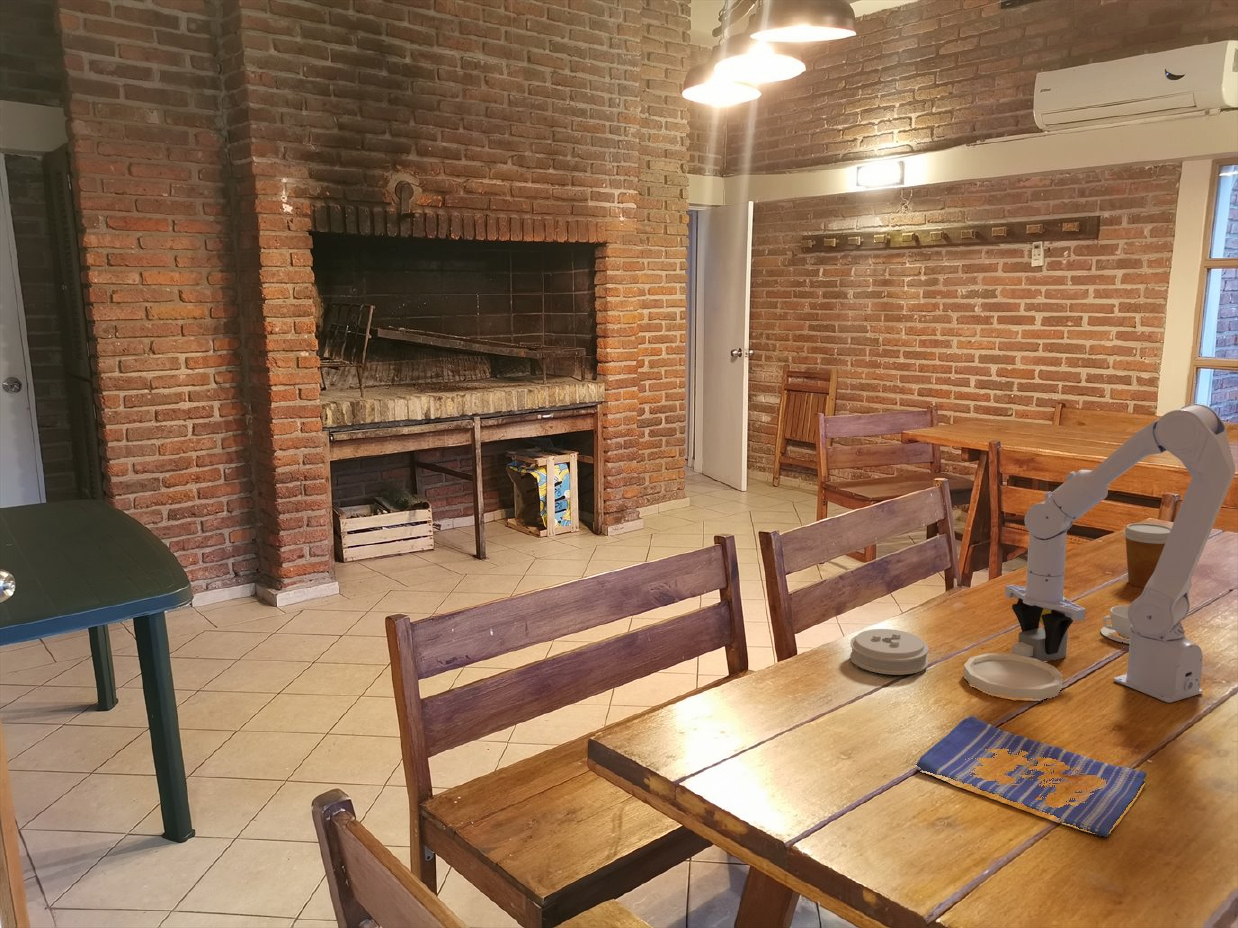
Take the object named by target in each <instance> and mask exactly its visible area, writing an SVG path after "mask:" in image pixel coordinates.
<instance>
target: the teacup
mask: <svg viewBox="0 0 1238 928" xmlns="http://www.w3.org/2000/svg"><path fill="white" fill-rule="evenodd" d="M1129 606H1130V605H1116V606H1112V607H1111V608H1110V609H1109V611H1110V615H1106V616H1103V619H1102V625H1103V627H1102V628H1101V629H1100V634H1102V636H1104V637H1106V638H1108V639H1110V640H1113V641H1115V642H1119V643H1122V642H1123V644H1127V645H1128V644H1129V642H1130V640H1126V639H1130V629H1131V624H1130V622H1129V619H1128V608H1129ZM1108 620H1110V623H1111V624H1109V625H1108V624H1107V621H1108ZM1116 632H1117V633H1118V635H1119V636H1121V637H1123V638H1126V639H1121V638H1118V637H1115V636H1113V635H1110V634H1109V633H1116Z"/></svg>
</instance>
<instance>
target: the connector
mask: <svg viewBox="0 0 1238 928" xmlns="http://www.w3.org/2000/svg"><path fill="white" fill-rule="evenodd" d="M1068 630H1069V629H1067V631H1066V633H1065V635H1064V637H1063V639H1062V641H1061V644H1060V647H1059V650H1058V653H1055V654H1051V655H1049V654H1046V650H1045V628H1044V626H1042V627H1039V628H1037V629H1033V630H1028V631H1024V632H1022V631H1021V632H1019V633H1018V640H1017V642H1016V643H1012V647H1011V654H1015V655H1021V656H1026V657H1031V658H1035V659H1038V660H1040V661H1043V662H1044V661H1049V660H1054V661H1057V660H1056V659H1058V660H1061V659H1060V658H1062V659H1064V658H1063V657H1065V656H1066V657H1067V654H1068V652H1067V651H1068V638H1069V637H1068V634H1069V631H1068ZM1066 657H1065V658H1066Z"/></svg>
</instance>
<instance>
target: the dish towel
mask: <svg viewBox="0 0 1238 928" xmlns="http://www.w3.org/2000/svg"><path fill="white" fill-rule="evenodd" d="M1003 748H1004V749H1009V751H1007V752H1008V754H1010V756H1011V755H1012V754H1013V755H1017V753H1018V755H1019V753H1020V750H1021V752H1022V750H1023V751H1026V752H1028V754H1026V755H1024V756H1022V757H1024V758H1027V761H1029V762H1030V761H1031V763H1033V762H1034V764H1033V766H1037V764H1038V760H1036V758H1038V757H1041V758H1042V757H1043V758H1044V757H1045V758H1052V759H1056V760H1058V761H1060V762H1064V763H1065V765H1067V766H1070V769H1069V770H1064V771H1065V772H1064V771H1063V773H1062V772H1061V774H1063V775H1064V774H1065V775H1096V777H1097V778H1098V777H1099V778H1100V777H1101V779H1102V778H1103V780H1104V779H1105V780H1107V781H1106V784H1107V785H1106V786H1105V787H1104V788H1101V789H1097V790H1095V791H1092V792H1090V793H1094V794H1092V795H1090V796H1089V798H1088V799H1087V800H1086V801H1085V803H1080V804H1079V805H1078V806H1076V807H1075V806H1074V805H1070V804H1068V805H1067V804H1066V805H1064V806H1063V807H1060V808H1058V807H1057V808H1056V807H1055V808H1052V807H1050V806H1047V805H1046V804H1044V803H1042V802H1046V798H1045V797H1047V795H1048V793H1049V795H1050V793H1054V792H1055V791H1057V789H1056V787H1055V785H1054V787H1053V785H1052V787H1050V785H1048V787H1047V786H1046V788H1045V786H1044V785H1043V786H1042V787H1041V785H1040V786H1039V784H1041V783H1042V781H1041V782H1040V781H1038V780H1040V779H1037V778H1038V777H1039V776H1041V775H1046V773H1044V772H1041V771H1037V769H1034V770H1033V769H1032V770H1029V769H1028V768H1029V767H1027V766H1032V764H1031V765H1030V764H1029V763H1028V764H1029V765H1015V766H1018V767H1016V769H1014V771H1009V772H1007V773H1005V774H1004V775H1006V776H1007V775H1008V776H1010V777H1011V778H1014V781H1016V783H1015V782H1013V783H1012V782H1011V784H1019V785H1009V784H1010V783H1009V784H1008V783H1007V785H1006V783H1005V784H1002V785H997V784H999V782H998V781H996V780H995V781H987V780H986V779H982V778H977V777H975V778H974V776H973V775H979V774H975V773H973V772H971V771H973V770H974V769H976V768H974V766H983V765H981V764H982V763H980V761H978V760H979V758H990V757H991V758H992V757H993V756H995V753H992V752H990V751H991V750H990V751H987V750H988V749H1003ZM985 749H987V750H985ZM1010 750H1011V751H1010ZM1009 752H1011V753H1009ZM1012 752H1013V753H1012ZM996 755H997V754H996ZM998 755H999V754H998ZM1013 755H1012V756H1013ZM968 758H969V759H968ZM972 758H973V759H972ZM975 758H976V759H975ZM977 758H978V760H977ZM993 758H995V757H993ZM996 758H997V757H996ZM1031 758H1032V759H1031ZM1033 758H1034V760H1033ZM965 759H966V760H965ZM978 762H979V763H978ZM1026 764H1027V763H1026ZM1035 764H1036V765H1035ZM915 765H917V766H918V767H920V768H921V769H922V770H923V771H927V772H930V773H933V774H935V775H942V776H945V777H948V778H951V779H953V780H955V781H960V782H962V783H963V784H964V783H966V784H972V786H974V787H976V788H978V789H980V790H982V791H987V792H989V793H992V794H997V795H999V796H1001V797H1003V798H1005V799H1007V800H1010V801H1013V802H1017V803H1021V802H1022V803H1023V804H1024V805H1025V806H1027V807H1029V808H1032V809H1035V810H1037V811H1042V812H1045V813H1047V814H1048V813H1050V815H1054V816H1056V817H1057V818H1060V819H1059V820H1061V822H1063V823H1066V824H1070V825H1073V826H1076V827H1078V828H1079V829H1084V830H1087V831H1090V832H1092V833H1095V834H1097V835H1101V836H1104V837H1103V838H1108V837H1109V836H1110V835H1109V832H1110V830H1111V829H1112V828H1113V825H1114V824H1115V823H1116V821H1117V820H1118V819H1119V818H1120V816H1121V815H1122V814H1123V813H1124V811H1125V810H1126V808H1127V807H1128V805H1129V804H1130V803H1131V802H1132V801H1133V799H1134V798H1135V797H1136V795H1137V793H1138V791H1139V790H1140V788H1141V786H1142V785H1143V784H1144V783H1146V781H1145V779H1146V777H1147V775H1148V773H1147V772H1146V771H1143V770H1139V769H1138V770H1136V769H1134V768H1130V767H1126V766H1120V765H1112V764H1110V763H1106V762H1102V761H1098V760H1096V759H1091V758H1090V757H1087V756H1085V755H1082V754H1078V753H1075V752H1073V751H1068V750H1066V749H1064V748H1060V747H1059V746H1054V745H1053V746H1051V745H1049V744H1047V743H1044V742H1040V741H1037V740H1033V739H1030V738H1028V737H1027V736H1022V735H1018V734H1014V733H1011V732H1010V731H1007V730H1003V729H1000V728H998V727H995V726H994V725H992V724H991V723H987V722H986V721H983V720H981V719H979V718H976V717H975V716H974V715H970V716H969V717H965V718H963V720H961V721H959V723H958V724H957V725H956V726H955V727H954V728H953V729H952V730H950V732H949V733H947V735H946V736H944V737H943V738H942V739H940V740H939V741H937V743H935V744H934V745H933V746H932V747H931V748H929V749H928V750H927V751H926V752H925V753H924V754H923V755H921V757H919V759H918V761H917V762H916V764H915ZM1024 766H1026V767H1024ZM1044 766H1045V764H1044ZM1046 766H1050V765H1047V764H1046ZM1051 766H1057V765H1055V764H1052V765H1051ZM1051 766H1050V767H1051ZM1073 767H1074V768H1075V767H1076V769H1074V771H1073V769H1072V770H1071V768H1073ZM969 769H971V770H969ZM1052 769H1054V768H1052V767H1051V770H1052ZM1079 769H1082V770H1081V771H1080V770H1079ZM1035 770H1036V771H1035ZM1076 770H1079V772H1078V773H1077V771H1076ZM974 771H975V770H974ZM1021 771H1022V772H1021ZM1023 771H1024V773H1023ZM1031 771H1032V773H1031ZM1075 771H1076V772H1075ZM1085 772H1086V773H1085ZM1026 773H1027V774H1026ZM1053 773H1054V770H1053ZM1080 773H1084V774H1080ZM1024 774H1025V775H1035V776H1033V777H1032V776H1031V777H1026V778H1025V779H1024V778H1022V776H1019V775H1024ZM1051 774H1052V772H1051ZM970 775H972V776H970ZM1014 775H1015V776H1014ZM1017 775H1018V776H1017ZM1015 778H1016V780H1015ZM1030 779H1031V780H1030ZM1032 779H1033V780H1032ZM1052 779H1053V780H1052ZM1052 779H1051V780H1052V782H1053V781H1058V780H1059V781H1060V782H1061V781H1062V782H1063V781H1064V782H1066V779H1063V778H1062V779H1063V780H1062V779H1061V778H1060V779H1058V778H1057V779H1056V778H1055V779H1054V778H1052ZM1041 780H1042V779H1041ZM1051 780H1050V779H1049V781H1051ZM1019 781H1020V782H1019ZM1043 781H1044V782H1045V779H1044V780H1043ZM1047 781H1048V780H1047ZM1047 781H1046V783H1047ZM1067 782H1068V781H1067ZM1067 782H1066V783H1067ZM1070 782H1071V781H1070ZM1070 782H1069V783H1070ZM1044 784H1045V783H1044ZM1049 784H1051V783H1049ZM1052 784H1061V783H1052ZM1044 788H1045V789H1044ZM1061 790H1062V789H1061ZM1055 793H1056V792H1055ZM1075 793H1084V791H1083V792H1082V791H1081V792H1080V791H1079V792H1075ZM1085 793H1086V792H1085ZM1040 794H1041V795H1040ZM1039 795H1040V798H1041V797H1042V796H1043V797H1044V798H1043V797H1042V800H1035V799H1036V798H1037V797H1038V798H1039ZM1066 802H1067V801H1066ZM1069 802H1079V797H1078V800H1075V798H1074V800H1073V798H1072V800H1071V798H1070V800H1069ZM1086 802H1087V803H1086ZM1022 803H1021V804H1022ZM1097 835H1096V836H1097ZM1108 835H1109V836H1108ZM1101 836H1100V837H1101Z"/></svg>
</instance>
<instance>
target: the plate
mask: <svg viewBox="0 0 1238 928" xmlns="http://www.w3.org/2000/svg"><path fill="white" fill-rule="evenodd" d="M963 676H964V677H966V679H967V680H968V682H969V684H970V685H972V686H975V687H978V688H980V689H981V690H983V691H985V692H987V693H989V694H990V693H991V694H994V695H1003V696H1007V697H1013V698H1033V699H1046V698H1050V699H1052V698H1051V697H1054V698H1056V697H1055V696H1057V697H1058V696H1059V694H1060V693H1059V692H1061V691H1062V689H1063V680H1064V679H1063V678H1064V675H1063V674H1062V673H1061V672H1060V671H1059V670H1058V669H1057V668H1056V667H1055V665H1052V664H1050V663H1048V662H1046V663H1045V662H1043V661H1040V660H1038V659H1035V658H1031V657H1026V656H1021V655H1015V654H1012V653H1002V652H999V653H997V652H996V653H995V652H994V653H993V652H991V653H983V654H978V655H975V656H971V657H969V658H968V660H967V661H966V662H965V663H964V664H963ZM964 677H963V678H964ZM969 684H968V685H969ZM1061 688H1062V689H1061ZM1060 690H1061V691H1060Z"/></svg>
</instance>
